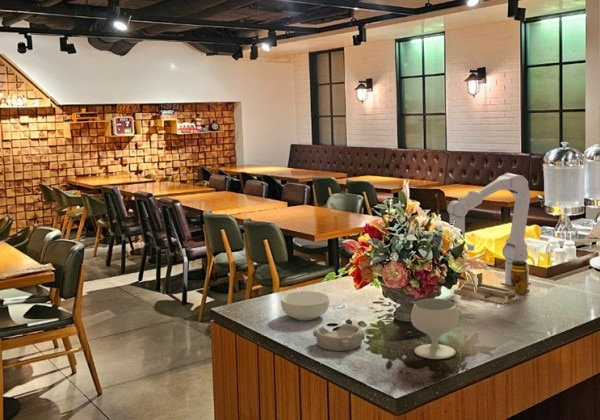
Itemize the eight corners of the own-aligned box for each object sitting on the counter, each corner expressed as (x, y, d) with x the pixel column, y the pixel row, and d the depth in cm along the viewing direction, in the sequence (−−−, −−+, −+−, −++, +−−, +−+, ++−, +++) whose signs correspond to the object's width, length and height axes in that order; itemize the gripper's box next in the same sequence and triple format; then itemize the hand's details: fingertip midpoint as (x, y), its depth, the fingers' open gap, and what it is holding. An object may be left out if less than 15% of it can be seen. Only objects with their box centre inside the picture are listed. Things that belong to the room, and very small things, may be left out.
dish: (308, 344, 221) (307, 328, 220) (342, 334, 229) (342, 319, 228) (336, 357, 209) (336, 340, 208) (372, 346, 217) (372, 330, 216)
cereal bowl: (274, 322, 243) (273, 302, 242) (291, 308, 258) (290, 289, 257) (321, 326, 237) (320, 306, 236) (335, 312, 253) (335, 292, 251)
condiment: (508, 294, 268) (509, 263, 266) (510, 288, 276) (510, 258, 274) (528, 295, 266) (529, 264, 264) (529, 289, 274) (530, 259, 272)
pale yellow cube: (471, 283, 275) (471, 270, 274) (482, 286, 271) (482, 272, 270) (463, 286, 272) (463, 272, 271) (474, 288, 268) (474, 274, 267)
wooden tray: (471, 287, 279) (471, 278, 279) (520, 298, 263) (520, 288, 262) (452, 293, 272) (452, 284, 271) (502, 304, 255) (502, 295, 255)
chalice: (401, 349, 213) (401, 301, 210) (440, 341, 219) (440, 294, 216) (429, 364, 200) (429, 313, 198) (468, 356, 206) (469, 306, 204)
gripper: (435, 231, 277) (435, 264, 279) (466, 235, 266) (465, 270, 268) (447, 228, 281) (446, 261, 283) (477, 233, 270) (477, 267, 272)
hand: (456, 266), depth 276 cm, fingers closed
